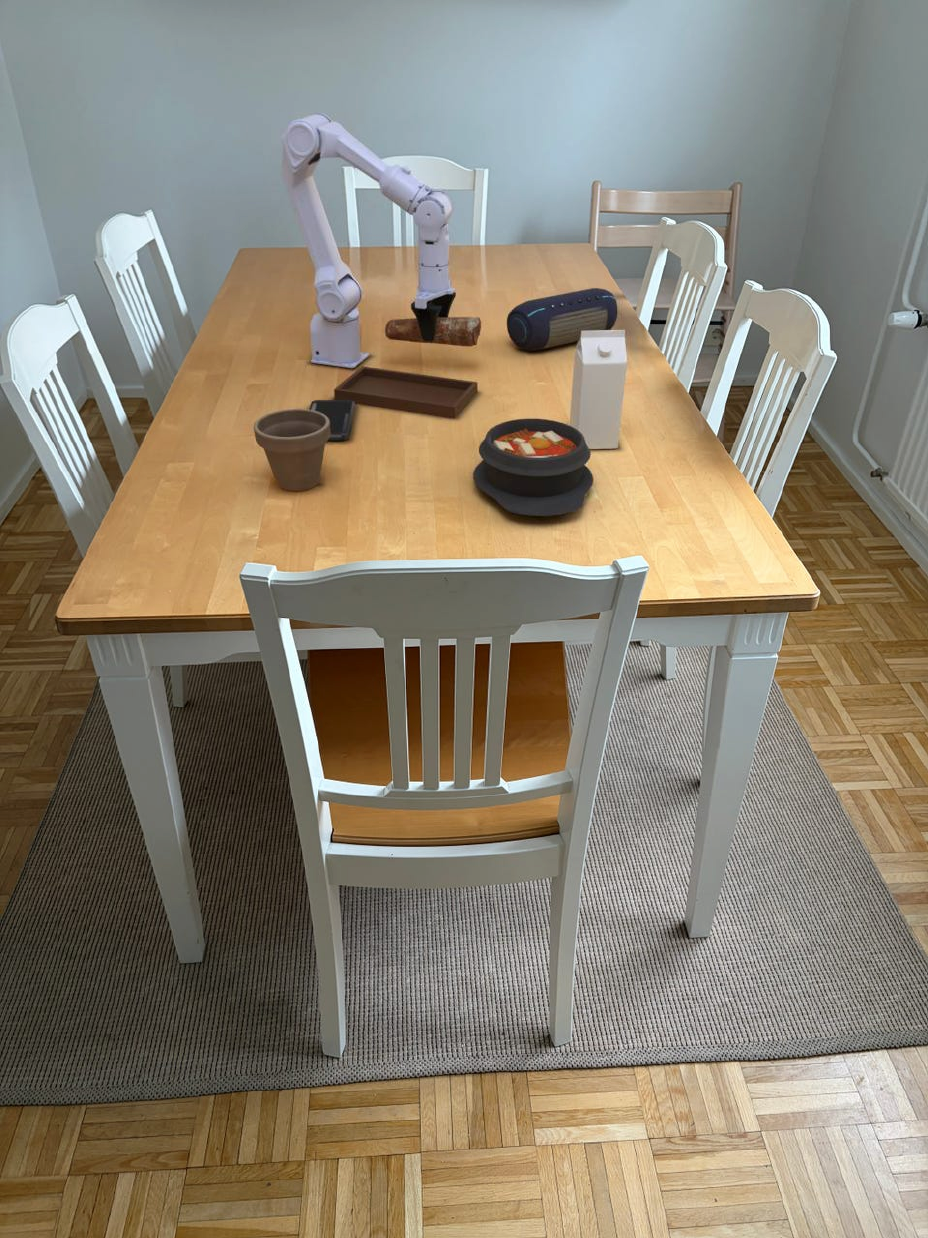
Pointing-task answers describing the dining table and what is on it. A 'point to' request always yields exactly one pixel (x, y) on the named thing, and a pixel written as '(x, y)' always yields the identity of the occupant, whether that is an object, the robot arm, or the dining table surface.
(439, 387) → the tray
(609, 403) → the milk carton
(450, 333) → the brown cylinder
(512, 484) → the casserole
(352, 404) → the phone
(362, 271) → the dining table surface
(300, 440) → the flower pot
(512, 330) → the portable speaker
